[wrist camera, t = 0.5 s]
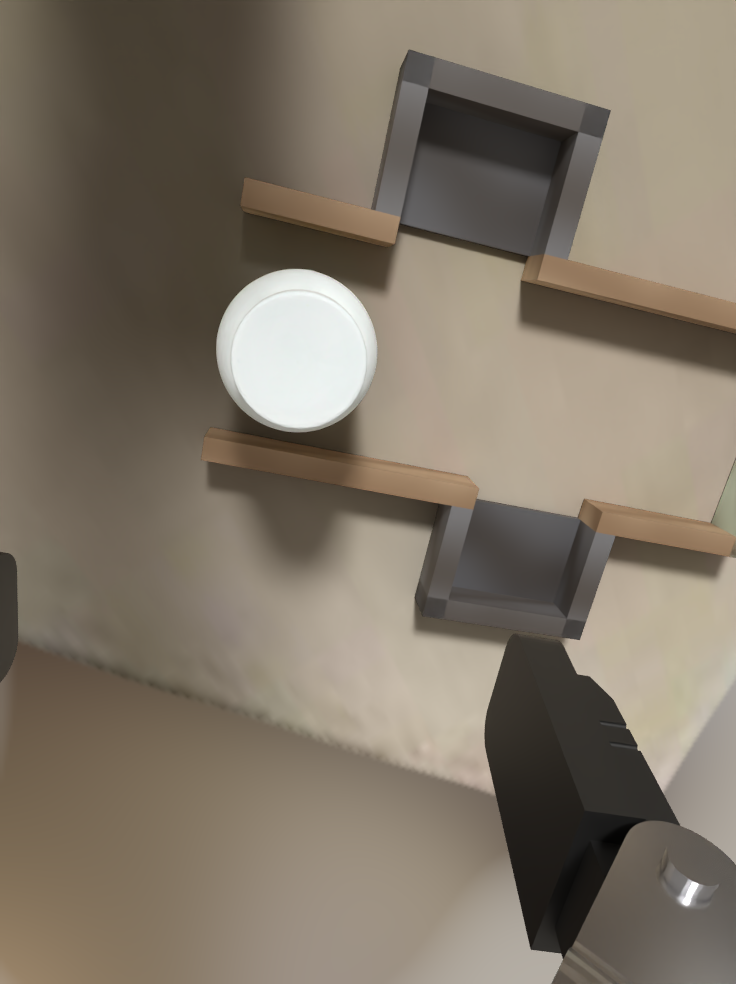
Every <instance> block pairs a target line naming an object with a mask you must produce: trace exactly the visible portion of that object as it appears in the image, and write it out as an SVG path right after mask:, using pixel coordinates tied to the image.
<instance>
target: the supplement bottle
mask: <svg viewBox="0 0 736 984" xmlns="http://www.w3.org/2000/svg"><path fill="white" fill-rule="evenodd" d="M216 357H217V364H218V368H219V372H220V375H221V378H222V381H223V383H224V385H225V387H226V390H227V391H228V393H229V394H230V396H231V397H232V399H233V400H234V401H235V403H236V404H237V405H238V406H239V407H240V408H241V409H242V410H243V411H244V412H245V413H246V414H247V415H249V416H250V417H252V418H253V419H254V420H256V421H258V422H260V423H262V424H264V425H266V426H268V427H271V428H274V429H277V430H281V431H286V432H310V431H315V430H319V429H322V428H325V427H328V426H330V425H332V424H334V423H336V422H338V421H340V420H341V419H343V418H344V417H346V416H347V415H348V414H349V413H351V412H352V411H353V410H354V409H355V408H356V407H357V405H358V404H359V403H360V402H361V401H362V399H363V398H364V396H365V394H366V393H367V391H368V389H369V387H370V385H371V383H372V380H373V377H374V374H375V370H376V364H377V340H376V335H375V331H374V327H373V324H372V322H371V319H370V317H369V315H368V313H367V311H366V310H365V308H364V306H363V305H362V303H361V302H360V300H359V299H358V298H357V297H356V296H355V295H354V294H353V293H352V292H351V291H350V290H349V289H348V288H347V287H345V286H344V285H343V284H341V283H340V282H338V281H336V280H335V279H333V278H331V277H329V276H327V275H324V274H322V273H319V272H316V271H313V270H307V269H286V270H280V271H275V272H272V273H269V274H266V275H264V276H262V277H260V278H258V279H256V280H254V281H253V282H251V283H250V284H248V285H247V286H246V287H245V288H244V289H242V290H241V291H240V292H239V293H238V294H237V295H236V296H235V298H234V299H233V300H232V302H231V303H230V305H229V306H228V308H227V309H226V311H225V313H224V315H223V318H222V320H221V323H220V326H219V330H218V334H217V343H216Z"/></svg>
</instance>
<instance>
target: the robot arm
mask: <svg viewBox="0 0 736 984" xmlns="http://www.w3.org/2000/svg"><path fill="white" fill-rule="evenodd" d="M17 644H18V602H17V566H16V561H15V559H14V557H13V556H12V555H11V554H9V553H3V552H0V682H1V681H2V680H3V678H4V677H5V676H6V674H7V672H8V671H9V669H10V667H11V665H12V662H13V660H14V657H15V653H16V650H17ZM637 746H638V745H637V743H636V742H635V740H634V738H633V736H632V734H631V732H630V730H629V729H626V723H625V721H624V719H623V717H622V715H621V713H620V711H619V710H618V708H617V706H616V704H615V702H614V700H613V699H612V698H611V697H610V696H609V695H608V694H607V693H606V692H605V691H604V690H603V689H602V688H601V687H600V686H599V685H598V684H597V683H596V682H595V681H594V680H593V679H592V678H590V677H589V676H583V675H577V673H576V671H575V669H574V667H573V665H572V663H571V661H570V659H569V657H568V655H567V652H566V650H565V648H564V646H563V645H562V643H561V642H560V641H558V640H552V639H545V638H539V637H532V636H526V635H520V634H513V635H512V636H511V637H510V639H509V641H508V643H507V646H506V649H505V652H504V656H503V659H502V662H501V666H500V669H499V673H498V676H497V679H496V683H495V686H494V689H493V693H492V696H491V700H490V703H489V706H488V710H487V715H486V721H485V748H486V753H487V758H488V762H489V767H490V771H491V776H492V780H493V784H494V789H495V793H496V798H497V802H498V807H499V811H500V815H501V820H502V824H503V829H504V833H505V838H506V842H507V846H508V851H509V855H510V859H511V864H512V868H513V873H514V878H515V881H516V886H517V891H518V895H519V900H520V904H521V909H522V913H523V917H524V922H525V926H526V931H527V935H528V939H529V944H530V948H531V950H539V951H546V952H554V953H561V954H562V957H563V961H562V963H561V965H560V967H559V969H558V971H557V973H556V975H555V977H554V979H553V981H552V983H551V984H736V865H735V864H734V862H733V861H732V860H731V859H730V858H729V857H728V856H727V855H726V854H725V853H724V852H723V851H721V850H720V849H719V848H718V847H716V846H715V845H714V844H713V843H711V842H710V841H708V840H707V839H705V838H704V837H702V836H700V835H699V834H697V833H695V832H693V831H691V830H689V829H686V828H684V827H682V826H680V824H679V822H678V821H677V819H676V817H675V815H674V813H673V811H672V809H671V807H670V806H669V804H668V802H667V800H666V798H665V796H664V794H663V792H662V790H661V788H660V787H659V785H658V783H657V781H656V779H655V777H654V775H653V773H652V772H651V770H650V768H649V766H648V764H647V762H646V760H645V758H644V757H643V755H642V753H641V751H638V750H637Z"/></svg>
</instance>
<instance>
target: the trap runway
mask: <svg viewBox="0 0 736 984" xmlns="http://www.w3.org/2000/svg"><path fill="white" fill-rule="evenodd" d="M610 111H611V110H608V109H604V108H601V107H598V106H595V105H591V104H588V103H585V102H581V101H578V100H575V99H571V98H568V97H565V96H561V95H558V94H555V93H551V92H548V91H545V90H542V89H538V88H535V87H532V86H528V85H525V84H522V83H518V82H515V81H512V80H508V79H505V78H502V77H498V76H495V75H492V74H488V73H485V72H482V71H479V70H475V69H472V68H469V67H465V66H462V65H459V64H455V63H452V62H449V61H445V60H442V59H439V58H435V57H432V56H429V55H425V54H422V53H419V52H416V51H412V50H408V53H407V55H406V57H405V59H404V61H403V63H402V65H401V68H400V72H399V77H398V82H397V87H396V91H395V96H394V101H393V106H392V111H391V116H390V121H389V125H388V130H387V135H386V140H385V145H384V150H383V154H382V159H381V164H380V169H379V174H378V179H377V184H376V188H375V193H374V198H373V203H372V208H371V209H367V208H363V207H360V206H356V205H352V204H348V203H344V202H340V201H336V200H332V199H328V198H325V197H321V196H317V195H313V194H309V193H305V192H301V191H297V190H293V189H289V188H286V187H282V186H278V185H274V184H270V183H266V182H262V181H258V180H254V179H251V178H247V177H245V178H244V185H243V191H242V197H241V204H240V206H241V208H242V209H243V211H244V212H247V213H251V214H255V215H259V216H263V217H267V218H271V219H275V220H279V221H283V222H287V223H291V224H295V225H299V226H303V227H307V228H311V229H315V230H319V231H323V232H327V233H332V234H336V235H340V236H344V237H348V238H352V239H356V240H360V241H364V242H368V243H372V244H376V245H380V246H384V247H390V246H392V245H394V244H395V240H396V236H397V231H398V226H399V224H401V225H405V226H409V227H413V228H417V229H421V230H425V231H429V232H433V233H437V234H441V235H445V236H449V237H452V238H456V239H460V240H464V241H468V242H472V243H476V244H480V245H484V246H488V247H492V248H496V249H500V250H503V251H507V252H511V253H515V254H519V255H523V256H527V260H526V264H525V268H524V271H523V275H522V279H521V281H525V282H529V283H533V284H537V285H541V286H545V287H549V288H553V289H557V290H561V291H565V292H569V293H574V294H578V295H582V296H586V297H590V298H594V299H598V300H602V301H606V302H610V303H614V304H618V305H622V306H626V307H630V308H634V309H638V310H642V311H646V312H650V313H654V314H658V315H662V316H666V317H670V318H674V319H678V320H682V321H686V322H690V323H695V324H699V325H703V326H707V327H711V328H715V329H719V330H723V331H727V332H731V333H735V334H736V303H733V302H729V301H726V300H722V299H718V298H714V297H710V296H706V295H702V294H698V293H694V292H691V291H687V290H683V289H679V288H675V287H671V286H667V285H663V284H659V283H656V282H652V281H648V280H644V279H640V278H636V277H632V276H628V275H624V274H620V273H617V272H613V271H609V270H605V269H601V268H597V267H593V266H589V265H585V264H582V263H578V262H574V261H570V260H568V257H569V253H570V250H571V246H572V243H573V239H574V236H575V232H576V229H577V225H578V222H579V218H580V215H581V212H582V208H583V205H584V201H585V198H586V194H587V191H588V187H589V184H590V180H591V177H592V173H593V170H594V167H595V163H596V160H597V156H598V153H599V149H600V146H601V142H602V139H603V135H604V132H605V128H606V125H607V121H608V118H609V115H610ZM201 460H204V461H209V462H215V463H220V464H226V465H231V466H237V467H242V468H248V469H253V470H259V471H264V472H270V473H275V474H280V475H286V476H291V477H297V478H302V479H308V480H313V481H319V482H324V483H330V484H335V485H341V486H346V487H351V488H357V489H362V490H368V491H373V492H379V493H384V494H390V495H395V496H401V497H406V498H412V499H417V500H422V501H428V502H433V503H439V507H438V511H437V514H436V518H435V522H434V526H433V530H432V533H431V537H430V541H429V545H428V549H427V552H426V556H425V560H424V564H423V568H422V571H421V575H420V579H419V583H418V587H417V590H416V594H415V599H416V601H417V604H418V606H419V609H420V611H421V614H422V616H426V617H432V618H439V619H445V620H452V621H458V622H465V623H471V624H478V625H485V626H491V627H498V628H504V629H511V630H517V631H524V632H531V633H537V634H544V635H550V636H557V637H563V638H570V639H576V640H580V637H581V635H582V632H583V629H584V626H585V623H586V620H587V617H588V614H589V611H590V609H591V606H592V603H593V600H594V597H595V594H596V591H597V588H598V585H599V583H600V580H601V577H602V574H603V571H604V568H605V565H606V562H607V559H608V557H609V554H610V551H611V548H612V545H613V542H614V539H615V536H619V537H625V538H630V539H636V540H641V541H646V542H652V543H657V544H663V545H668V546H674V547H679V548H685V549H690V550H696V551H701V552H707V553H712V554H717V555H723V556H728V557H734V558H736V460H735V463H734V466H733V468H732V471H731V473H730V476H729V478H728V481H727V484H726V486H725V489H724V491H723V494H722V497H721V499H720V502H719V504H718V507H717V509H716V512H715V515H714V517H713V520H712V522H711V523H708V522H703V521H697V520H692V519H687V518H682V517H677V516H671V515H666V514H661V513H656V512H650V511H645V510H640V509H635V508H630V507H624V506H619V505H614V504H609V503H604V502H598V501H593V500H588V499H584V501H583V504H582V507H581V510H580V513H579V516H578V518H576V517H571V516H565V515H560V514H554V513H549V512H544V511H538V510H533V509H528V508H522V507H517V506H511V505H506V504H501V503H495V502H490V501H485V500H479V499H476V498H477V495H478V491H479V488H478V487H477V486H476V485H475V484H474V483H473V482H472V481H471V479H470V478H469V477H468V476H463V475H457V474H452V473H447V472H442V471H437V470H431V469H426V468H421V467H416V466H411V465H405V464H400V463H395V462H390V461H384V460H379V459H374V458H369V457H364V456H358V455H353V454H348V453H343V452H338V451H332V450H327V449H322V448H317V447H311V446H306V445H301V444H296V443H291V442H285V441H280V440H275V439H270V438H265V437H259V436H254V435H249V434H244V433H238V432H233V431H228V430H223V429H218V428H212V427H210V429H209V430H208V432H207V433H206V435H205V437H204V443H203V449H202V456H201Z"/></svg>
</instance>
